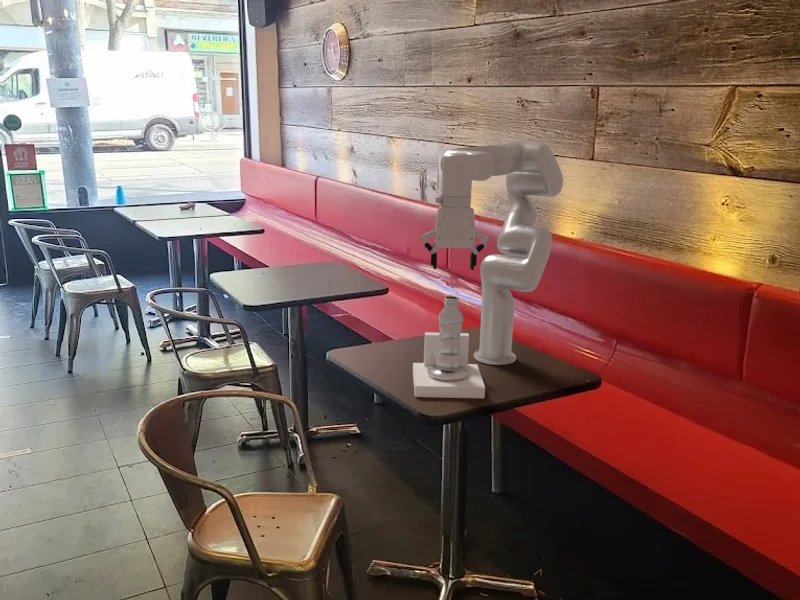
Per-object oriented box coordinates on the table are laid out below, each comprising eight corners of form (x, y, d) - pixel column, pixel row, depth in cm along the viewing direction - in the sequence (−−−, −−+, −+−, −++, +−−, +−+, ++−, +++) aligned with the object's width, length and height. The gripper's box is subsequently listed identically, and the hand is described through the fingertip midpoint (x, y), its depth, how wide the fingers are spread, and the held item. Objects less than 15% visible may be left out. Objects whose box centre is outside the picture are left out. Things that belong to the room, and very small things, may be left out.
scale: (412, 372, 211) (414, 332, 208) (476, 374, 211) (478, 333, 208) (414, 396, 193) (416, 352, 190) (484, 398, 193) (487, 354, 190)
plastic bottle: (444, 364, 206) (448, 293, 201) (465, 370, 201) (469, 298, 196) (430, 369, 201) (433, 297, 196) (451, 376, 197) (454, 302, 192)
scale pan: (426, 366, 206) (426, 362, 206) (466, 367, 207) (466, 363, 206) (428, 380, 196) (428, 376, 196) (470, 381, 196) (470, 377, 196)
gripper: (422, 203, 186) (420, 271, 191) (491, 205, 186) (488, 272, 191) (421, 199, 193) (419, 264, 198) (488, 201, 194) (484, 266, 198)
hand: (453, 268), depth 194 cm, fingers open, 9 cm apart
